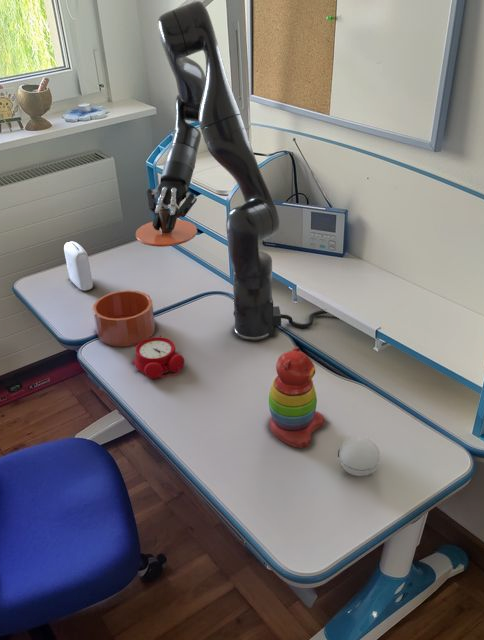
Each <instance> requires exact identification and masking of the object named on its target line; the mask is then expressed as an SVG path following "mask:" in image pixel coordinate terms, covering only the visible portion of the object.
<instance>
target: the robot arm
mask: <svg viewBox="0 0 484 640" xmlns="http://www.w3.org/2000/svg"><path fill="white" fill-rule="evenodd" d="M213 25H214V24H213V23H212V19H211V16H210V14H209V11H208V9H207V7H206V6H205V4H204V3H203V2H201V1H199V0H196V1H193V2H189V3H187V4H185V5H181V6H180V7H177V8H174V9H171V10H169V11H166V12H164V13H163V14H161V15H160V16H159V17H158V19H157V31H158V36H159V39H160V43H161V46H162V48H163V51H164V55H165V57H166V60H167V62H168V65H169V67H170V70H171V71H172V74H173V76H174V79H175V83H176V88H177V95H176V96H175V99H174V129H173V134H172V138H171V142H170V146H169V149H168V151H167V154H166V157H165V160H164V164H163V168H162V171H161V176H160V181H159V184H158V185H157V187H155V188H154V189H151V188H147V189H146V197H147V203H148V210H150V211H151V212H152V213H153V214H154V216H153V220H152V222H153V223H152V224H153V227H154V229H155V230H158V231H159V229H160V219H159V210H161V209H168V206H169V205H170V215H169V218H168V221H167V225H166V230H167V231H168V232H171V231H172V230H173V229H174V227H175V223H176V220H177V219H178V218H185V217H186V216H187V214H188V213H189V212H190V210H191V209H192V207H193V206H194V205H195V203H196V202H197V200H198V198H197V197H196V195H195V194H194V193H191V192H190V190H189V188H190V186H191V182H192V179H193V174H194V171H195V168H196V163H197V156H198V151H199V147H200V144H201V140H202V137H203V140H204V143H205V145H206V148H207V150H208V152H209V154H210V155H211V156H212V157H213V159H214V160H215V161H216V162H217V163H218V164H219V165H220V166H221V167H222V168H223V169H225V170H226V171H227V172H228V174H230V176H232V178H233V179H234V180H235V182H236V184H237V185H238V187H239V190H240V192H241V195H242V197H243V200H244V203H242V204H239V205H237V206H235V207H233V208H231V210H229V212H228V214H227V217H226V221H225V226H226V227H225V229H226V230H225V231H226V239H227V240H226V241H227V250H228V256H229V260H230V262H231V265H232V285H233V286H232V287H233V318H234V334H235V335H236V336H237V337H238V338H240V339H241V340H245V341H256V342H257V341H262V340H264V339H267V338H268V337H273V336H274V327H281V326H282V319H284V320H288V323H289V325H291V326H293V327H295V328H299V329H305V328H310V327H312V325H314V317H316V316H320V315H325V314H328V313H327V312H325V311H323V310H324V309H321V310H316V311H313V312H311V313H310V315H309V318H308V320H309V322H307V323H298V322H295V321H294V320H293V317H292V316H290V315H289V314H282V312H281V309H280V306H278V305H277V306H274V298H273V259H272V256H271V255H270V254H269V253H267V252H265V251H263V250H260V249H259V248H260V247H259V243H260V242H263V241H265V240H267V239H269V238H271V237H273V236H274V235H276V233H277V232H278V231H279V228H280V216H279V212H278V209H277V206H276V203H275V201H274V198H273V197H272V194H271V192H270V190H269V188H268V186H267V183H266V181H265V179H264V177H263V174H262V172H261V170H260V167H259V164H258V161H257V159H256V156H255V154H254V153H255V152H254V151H253V147H252V145H251V142H250V138H249V136H248V132H247V128H246V126H245V123H244V119H243V117H242V116H243V115H242V113H241V111H240V108H239V106H238V103H237V101H236V98H235V95H234V93H233V90H232V86H231V84H230V80H229V78H228V75H227V72H226V68H225V66H224V61H223V58H222V55H221V51H220V47H219V43H218V40H217V37H216V32H215V29H214V26H213ZM199 52H203V53H204V57H205V72H204V69H203V67H202V66H201V65H200V64H199V63H198V62H196V61H195V60H194V59H192V58H190V57H188V56H191V55H194V54H197V53H199ZM187 121H188V122H187ZM189 122H195V123H198V125H199V128H200V129H199V128H198V127H196V126H194V125H192V124H190V123H189ZM157 198H158V199H157ZM156 199H157V201H156ZM182 202H183V203H182ZM181 203H182V204H181Z"/></svg>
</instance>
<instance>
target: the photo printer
mask: <svg viewBox="0 0 484 640" xmlns="http://www.w3.org/2000/svg"><path fill="white" fill-rule="evenodd" d="M63 252H64V258H65V262H66V267H67V268H66V269H67V273H68V277H69V280H70V281H71V283H73V285H75V286H76V287H77V288H78V289H79V290H81V291H89V290H91V289H92V288H93V287H94V283H93V282H94V281H93V278H92V272H91V266H90V261H89V260H90V259H89V256H88V255H89V254H88V252H87V251H86V250H85V249H84V248H83V246H82V245H81V244H79V243H77V242H76V241H73V240H71V241H69V242H68V241H67V242H66V243H65V244H64V246H63Z"/></svg>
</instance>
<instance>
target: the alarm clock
mask: <svg viewBox="0 0 484 640" xmlns="http://www.w3.org/2000/svg"><path fill="white" fill-rule="evenodd" d="M131 346H135V351H134V352H135V358H134V362H133V363H134V367H135V368H136V370H138V371H139V372H141V373H143V374H144V375H145V376H146V378H148V379H150V380H151V379H152V380H156V379H159V378H169V377H172V376H175V375H177V374H179V372H180V371H181V370H182V368H183V367H184V365H185V358H184V357H183V355H181V354H180V353H177V351H176V345H175V343H174V342H173V341H172V340H171V339H170V338H166V337H162V335H161V334H159V336H156V337H149V338H148V339H146V340H144V341H142V342H140V343H138V344H132V345H131ZM168 372H172V374H169V375H163V374H166V373H168Z"/></svg>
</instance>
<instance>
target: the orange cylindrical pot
mask: <svg viewBox="0 0 484 640" xmlns="http://www.w3.org/2000/svg"><path fill="white" fill-rule="evenodd" d="M153 304H154V303H153V300H152V298H151V297H150V295H148V294H147V293H145V292H142V291H139V290H130V289H129V290H127V289H126V290H118V291H114V292H109V293H108V294H105V295H102V296H101V297H99V298H98V299H97V300H96V301H95V302H94V303H93V306H92V315H93V319H94V324H95V331H96V335H97V338H98V339H99V340H100V341H101V342H102V343H103V344H106V345H108V346H114V347H129V346H133V345H132V344H134V345H138V344H139V343H140V342H142V341H144V340H146V339H149V338H151V337H152V336H153V334H154V332H155V330H156V322H155V313H154V307H153V306H154V305H153Z"/></svg>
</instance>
